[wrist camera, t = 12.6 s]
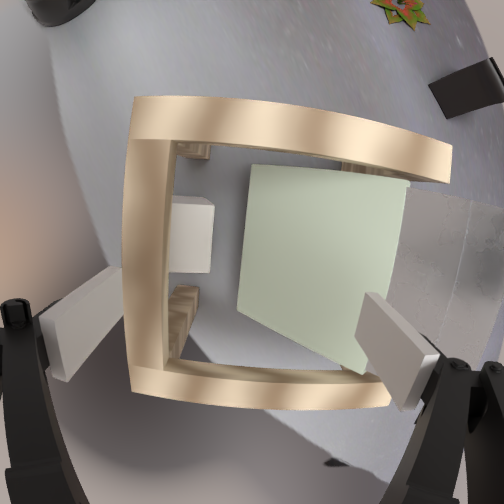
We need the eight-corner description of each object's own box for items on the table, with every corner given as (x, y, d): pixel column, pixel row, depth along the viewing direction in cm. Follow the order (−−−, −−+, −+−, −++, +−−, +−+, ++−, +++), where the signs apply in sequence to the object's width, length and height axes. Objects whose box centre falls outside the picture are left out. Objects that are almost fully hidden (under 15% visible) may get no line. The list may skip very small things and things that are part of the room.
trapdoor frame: (177, 304, 41) (131, 391, 22) (189, 135, 36) (134, 96, 17) (337, 318, 42) (388, 405, 23) (363, 157, 37) (452, 145, 18)
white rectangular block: (209, 273, 31) (200, 250, 39) (214, 205, 29) (203, 197, 38) (156, 271, 29) (158, 248, 38) (159, 202, 28) (161, 194, 36)
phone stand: (459, 70, 33) (504, 52, 21) (475, 102, 34) (523, 91, 22) (427, 84, 34) (474, 64, 22) (446, 119, 35) (496, 108, 23)
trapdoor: (515, 209, 17) (522, 205, 13) (464, 381, 20) (453, 414, 16) (288, 170, 34) (251, 164, 30) (271, 300, 38) (236, 310, 34)
